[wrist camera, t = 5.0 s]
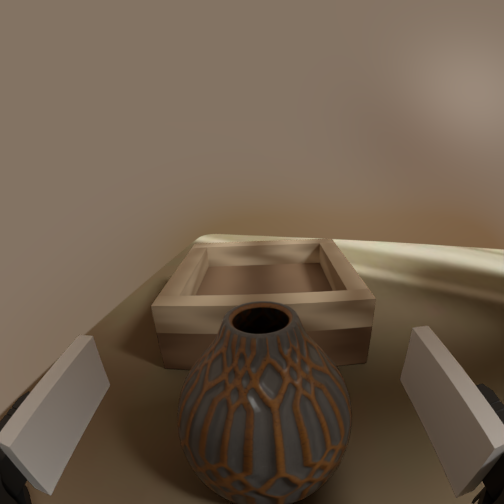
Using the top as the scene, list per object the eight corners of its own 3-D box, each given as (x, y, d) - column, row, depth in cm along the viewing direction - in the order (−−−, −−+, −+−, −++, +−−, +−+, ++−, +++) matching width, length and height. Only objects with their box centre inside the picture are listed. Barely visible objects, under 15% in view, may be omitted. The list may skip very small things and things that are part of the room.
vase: (170, 455, 13) (124, 308, 10) (275, 403, 17) (272, 263, 14) (252, 553, 8) (229, 438, 5) (366, 466, 12) (411, 314, 9)
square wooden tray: (329, 283, 33) (331, 238, 32) (366, 362, 20) (375, 298, 18) (200, 288, 34) (195, 243, 32) (165, 368, 20) (150, 305, 19)
